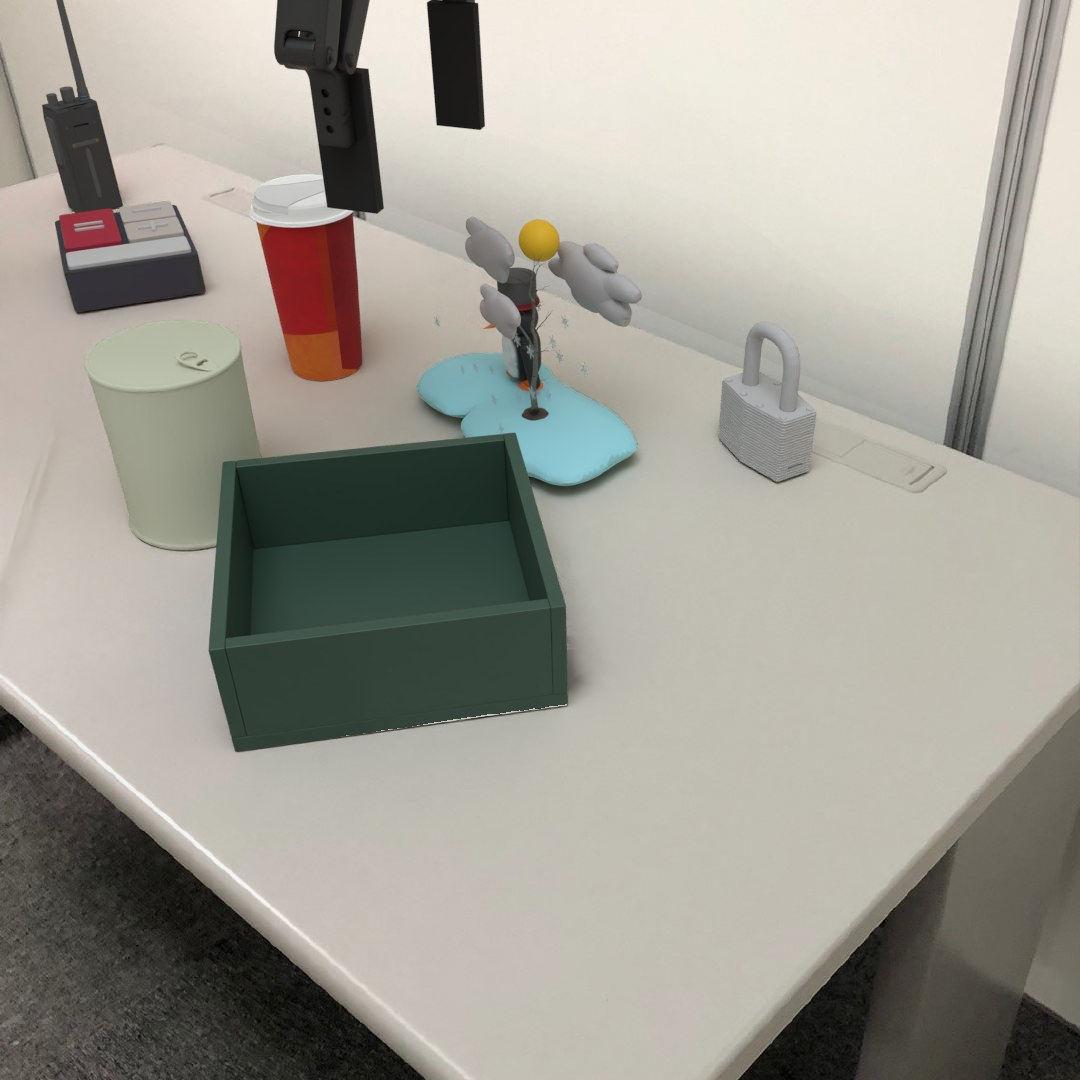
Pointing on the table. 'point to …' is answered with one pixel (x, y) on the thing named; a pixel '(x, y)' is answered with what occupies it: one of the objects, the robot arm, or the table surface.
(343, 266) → the paper cup
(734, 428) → the padlock
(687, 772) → the table surface
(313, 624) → the bin
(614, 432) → the blue and grey toy
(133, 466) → the can
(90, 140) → the walkie-talkie
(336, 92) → the robot arm
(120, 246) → the calculator
